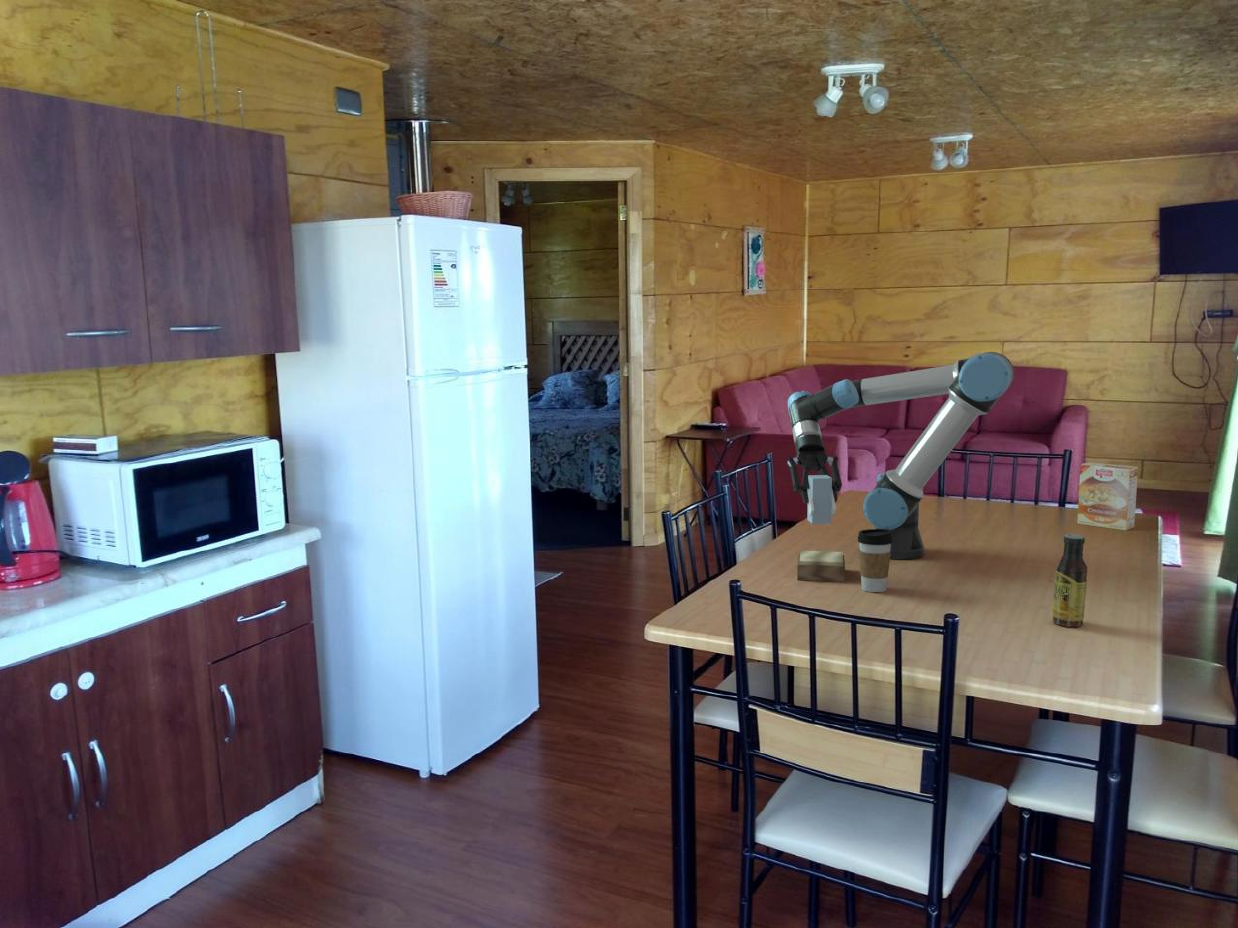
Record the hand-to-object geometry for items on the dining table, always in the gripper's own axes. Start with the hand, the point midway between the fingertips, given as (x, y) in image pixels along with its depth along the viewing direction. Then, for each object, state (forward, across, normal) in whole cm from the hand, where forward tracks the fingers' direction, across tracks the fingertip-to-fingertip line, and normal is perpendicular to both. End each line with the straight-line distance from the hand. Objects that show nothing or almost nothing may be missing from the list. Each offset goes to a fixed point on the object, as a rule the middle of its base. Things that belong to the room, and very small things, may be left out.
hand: (823, 512), depth 241 cm
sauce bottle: (+42, -43, +18) cm, 63 cm away
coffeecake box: (-22, -104, -47) cm, 116 cm away
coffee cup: (+21, -10, -4) cm, 23 cm away
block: (0, 0, -5) cm, 5 cm away
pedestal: (+10, -1, -15) cm, 18 cm away
